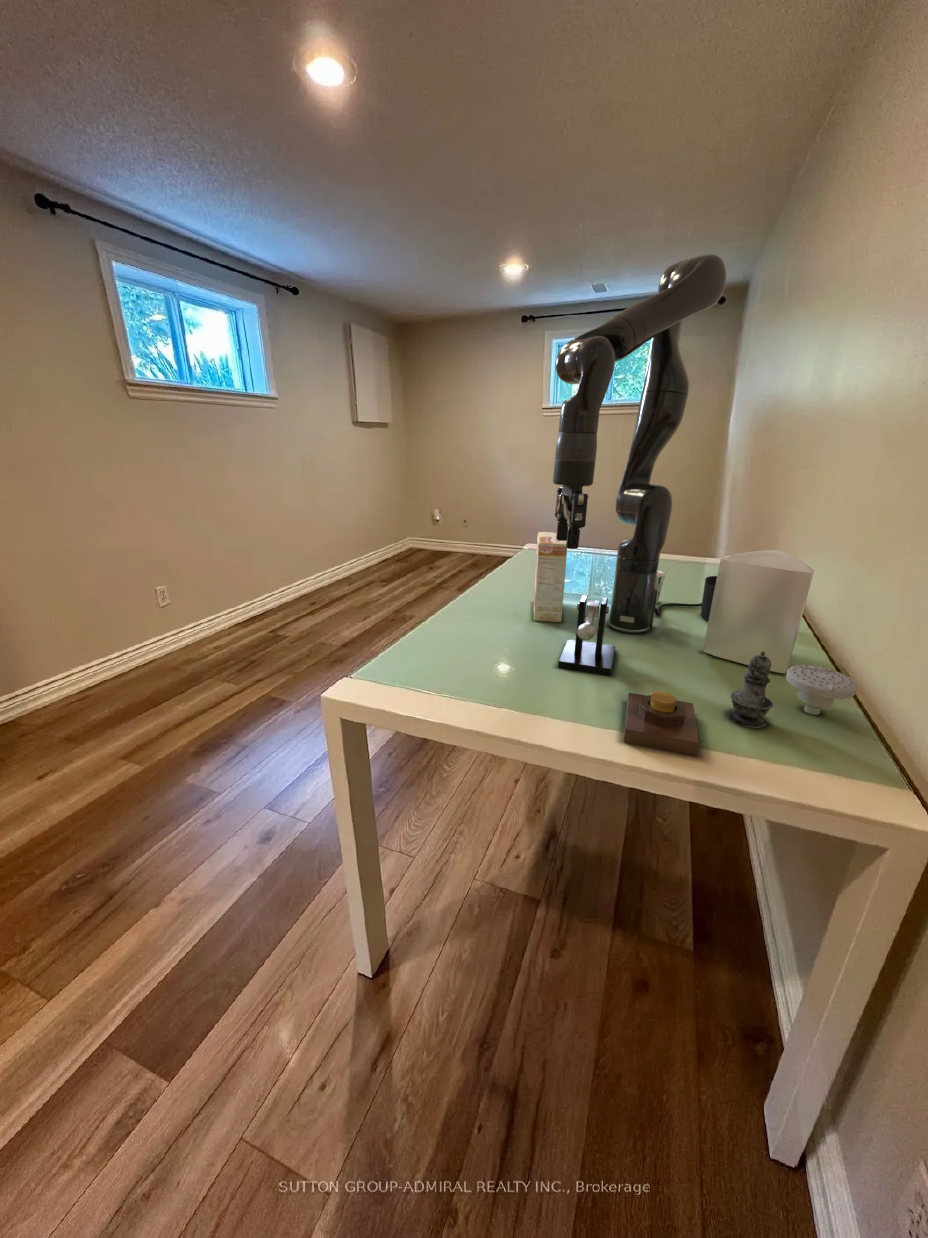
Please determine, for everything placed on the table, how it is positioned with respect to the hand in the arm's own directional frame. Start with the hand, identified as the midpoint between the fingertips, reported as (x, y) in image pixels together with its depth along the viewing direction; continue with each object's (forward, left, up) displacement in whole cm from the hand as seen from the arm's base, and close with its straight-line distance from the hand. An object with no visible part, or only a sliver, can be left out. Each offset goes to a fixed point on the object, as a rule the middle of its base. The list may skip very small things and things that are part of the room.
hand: (566, 544), depth 98 cm
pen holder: (-48, +1, -23) cm, 53 cm away
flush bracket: (-2, +7, -23) cm, 24 cm away
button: (+4, +32, -19) cm, 38 cm away
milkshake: (-43, -16, -23) cm, 51 cm away
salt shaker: (-11, +36, -23) cm, 44 cm away
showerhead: (-23, +39, -23) cm, 51 cm away
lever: (+1, +11, -14) cm, 18 cm away
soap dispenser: (-35, +19, -23) cm, 46 cm away
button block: (+4, +32, -23) cm, 40 cm away
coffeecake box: (-11, -21, -23) cm, 33 cm away
